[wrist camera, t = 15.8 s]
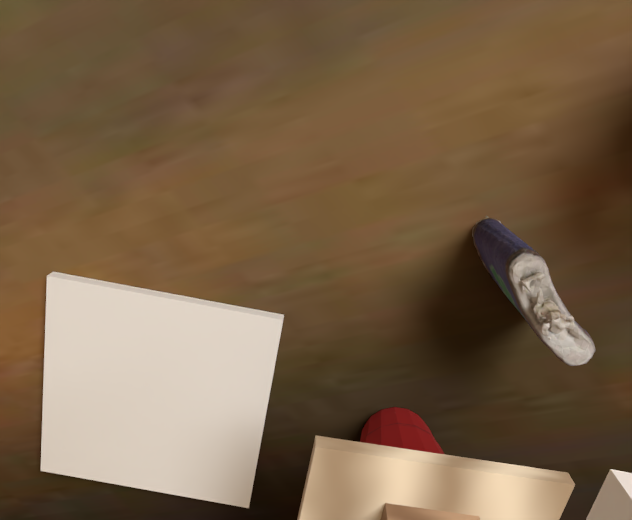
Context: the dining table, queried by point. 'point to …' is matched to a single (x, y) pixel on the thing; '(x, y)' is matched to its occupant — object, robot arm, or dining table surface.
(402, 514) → the lid
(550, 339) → the flask
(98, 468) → the mat
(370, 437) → the plastic cup
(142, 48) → the dining table surface
